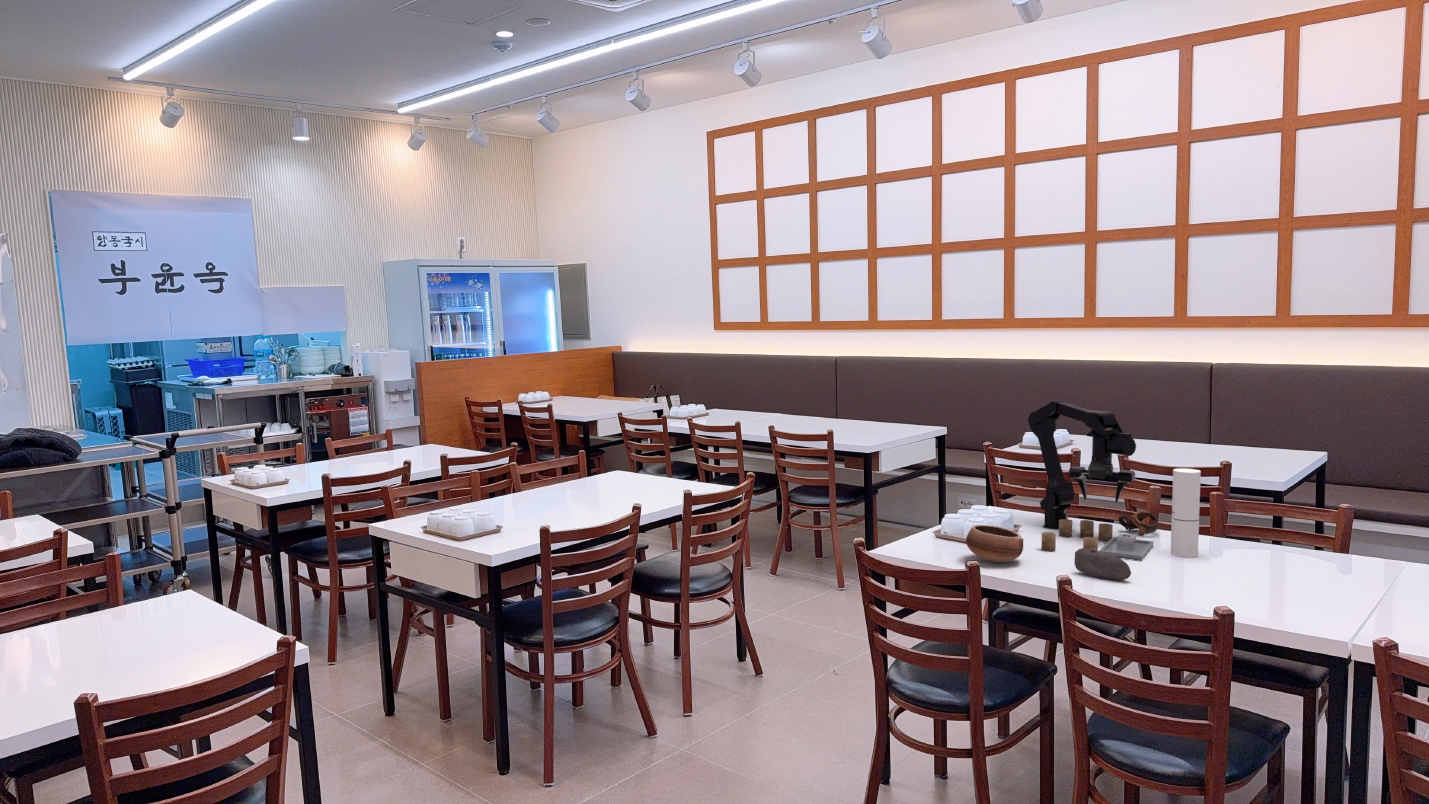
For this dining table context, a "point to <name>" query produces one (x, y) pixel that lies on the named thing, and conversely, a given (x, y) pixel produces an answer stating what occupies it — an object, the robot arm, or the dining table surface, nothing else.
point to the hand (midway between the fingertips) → (1100, 501)
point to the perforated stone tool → (1101, 564)
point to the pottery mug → (1139, 522)
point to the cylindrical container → (1185, 512)
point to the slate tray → (1137, 554)
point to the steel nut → (1126, 542)
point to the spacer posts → (1085, 533)
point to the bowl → (994, 543)
